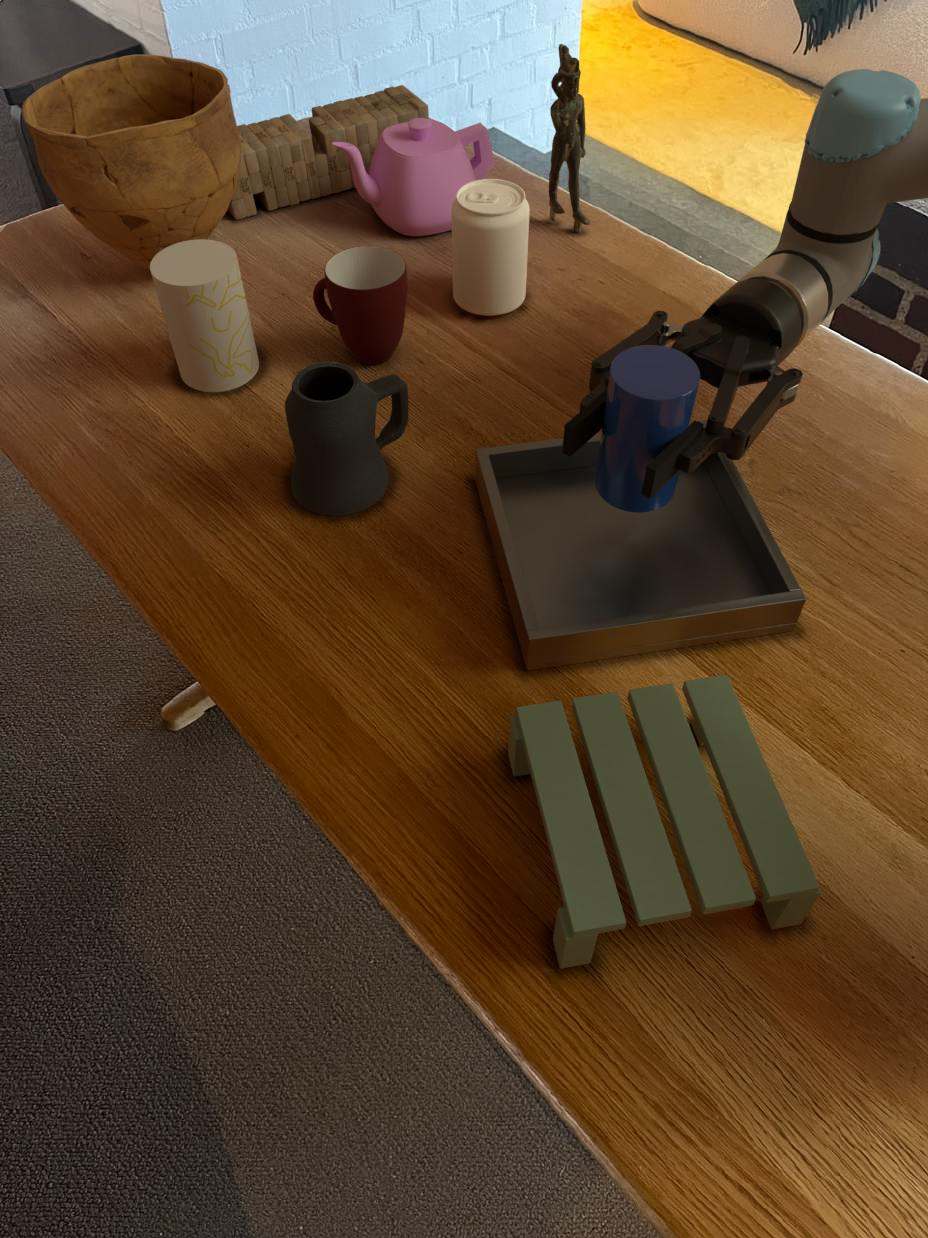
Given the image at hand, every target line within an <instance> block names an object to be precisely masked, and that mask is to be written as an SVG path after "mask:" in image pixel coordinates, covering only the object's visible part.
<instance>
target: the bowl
mask: <svg viewBox="0 0 928 1238" xmlns="http://www.w3.org/2000/svg"><path fill="white" fill-rule="evenodd" d="M231 93H232V92H231V87H230V85H229V79H228V77H227V76H226V74H225V73H224V71H222V70H221V69H219V68H217V67H214V66H211V65H209V64H207V63H204V62H201V61H195V60H191V59H188V58H179V57H170V56H165V55H160V54H159V55H157V54H129V55H123V56H120V57H113V58H109V59H106V60H102V61H98V62H94V63H90V64H86V65H83V66H81V67H79V68H75V69H73V70H71V71H69V72H67V73H66V74H64V75H62V76H61V77H60V78H58V79H55V80H53V81H50V82H49V83H47V84H45V85H43V86H42V87H41V86H40V88H38V89H37V90H35V91H34V92H33V93H32V94H30V95H29V96H28V97H27V98H26V99H25V100H24V101H23V103H22V105H21V115H22V118H23V121H24V123H25V125H26V127H27V129H28V130H29V132H30V134H31V139H32V141H33V143H34V146H35V147H34V148H35V152H36V158H37V163H38V166H39V169H40V171H41V173H42V175H43V178H44V179H45V181H46V183H47V184H48V187H49V188H50V189H51V192H53V194H54V195H55V196H56V197H57V199H58V200H59V201H60V202H61V203H62V204H63V206H64V207H65V208H66V209H67V211H68V212H69V213H70V214H71V215H72V216H73V217H74V218H75V220H76V221H77V222H78V223H79V224H80V225H81V226H82V227H84V228H85V229H86V230H87V231H88V232H90V233H91V234H92V235H93V236H94V237H96V238H97V239H98V240H100V241H101V242H104V243H105V244H106V245H108V246H110V247H111V248H113V249H115V250H116V251H117V252H119V253H120V254H122V255H124V256H125V257H126V258H128V259H129V260H130V261H132V262H133V263H135V264H137V265H139V266H140V267H142V268H145V269H147V270H150V263H151V261H152V259H153V258H154V256H155V255H156V254H157V253H159V252H160V251H161V250H163V249H165V248H166V247H168V246H171V245H173V244H176V243H179V242H183V241H188V240H197V239H206V240H210V237H211V235H212V234H213V232H214V231H215V230H216V228H217V227H218V226H219V223H220V222H221V221H222V220H223V217H224V216H225V215H226V213H227V212H226V211H227V209H228V206H229V204H230V201H231V198H232V196H233V193H234V190H235V187H236V184H237V180H238V176H239V171H240V163H241V139H240V135H239V132H238V128H237V126H238V125H237V122H236V117H235V113H234V109H233V102H232V97H231Z"/></svg>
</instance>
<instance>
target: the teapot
mask: <svg viewBox="0 0 928 1238" xmlns="http://www.w3.org/2000/svg"><path fill="white" fill-rule="evenodd" d="M332 144H333V145H334V146H336V147H338V148H339V149H341V150H342V151H343V152H344V153H345V154H346V155H347V157H348V159H349V161H350V165H351V170H352V176H353V180H354V184H355V189H356V191H357V193H358V194H359V196H360V197H361V198H362V200H364V201H365V202H366V203H368V204H370V205H371V207H372V208H373V209H374V210H373V211H374V212H375V214H376V215H377V216H378V218H380V219H381V221H382V222H383V223H384V224H385V225H386V226H387V227H389V228H390V229H391V230H393V231H394V232H396V233H398V234H402V235H403V236H408V237H423V236H431V235H435V234H436V235H437V234H441V233H444V232H449V231H452V205H453V202H454V200H455V199H456V194H457V191H458V190H459V189H460V188H461V187H462V186H463V185H465V184H467V183H469V182H472V181H476V180H481V179H484V177H485V176H486V175H487V174H488V173H489V172H490V171H491V169H492V168H493V167H494V166H495V165H496V163H495V156H494V153H493V148H492V145H491V139H490V135H489V130H488V128H487V127H486V126H485V125H484V124H482V123H481V122H478V123H475V124H472V125H469V126H467V127H463V128H461V129H457V130H455V131H454V130H453V128H451V127H450V126H448V125H447V124H445V123H443V122H442V121H439V120H436V119H430V118H429V119H425V118H415V119H412V120H410V121H409V122H405V123H400V124H396V125H393V126H390V127H387V128H386V129H385V130H384V131H383V132H382V134H381V136H380V138H379V140H378V143H377V146H376V148H375V151H374V154H373V157H372V161H371V166H370V172H369V175H368V174H367V173H366V171H365V168H364V164H363V160H362V157H361V154H360V152H359V150H358V149H357V148H356V147H355V146H354V145H352V144H350V143H346V142H333V143H332ZM469 145H473V153H474V156H473V157H472V158H471V159H470V158H469V156H468V153H467V151H466V150H465V147H467V146H469Z"/></svg>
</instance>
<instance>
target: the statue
mask: <svg viewBox="0 0 928 1238" xmlns="http://www.w3.org/2000/svg"><path fill="white" fill-rule="evenodd" d="M558 58H559V67H558V69H557V72H556V73H555V74H554V75H553V76H552V79H551V82H550V83H551V84H550V85H551V89H552V91H553V93H554V94H555V96H556V97H557V98H556V99H555V100H554V101H553V102H552V104H551V105H550V108H549V111H550V113H549V114H550V118H551V123H552V125H553V128H554V130H555V133H554V136H553V137H552V143H551V155H550V170H549V173H548V197H549V198H548V199H549V200H548V206H549V218H550V221H552V222H556V221H557V218H558V215H563V214H565V212H566V211H565V209H564V208H563V207H562V205H561V204H560V203H559V201H558V190H559V189H558V188H559V184H560V183H559V182H560V171H561V169H562V166H563V165H564V162H566V166H567V172H568V181H567V182H568V183H567V185H568V187H567V188H568V193H569V199H570V204H571V205H570V206H571V210H572V218H573V232H574V233H575V234H580V233H581V232H582V226H583V225H585V226H590V225H591V224H592V223H591V220H590V219H589V218H588V217H586V216H585V215H584V214H583V212H582V210H581V206H580V180H579V179H580V174H579V173H580V165H581V159H584V157H585V156H586V155H587V152H586V151H587V150H586V149H585V141H586V140H585V139H586V110H585V98H584V96H583V95H582V94H581V93H579V92H580V79H581V75H582V74H581V73H582V71H581V69H580V60H579V59H578V58H577V57H573V56H572V55H571V53H570V49H569V47H568V46H567V45H565V44H563V43H559V45H558ZM560 83H561V84H560Z"/></svg>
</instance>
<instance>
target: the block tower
mask: <svg viewBox="0 0 928 1238" xmlns="http://www.w3.org/2000/svg"><path fill="white" fill-rule="evenodd" d="M310 111H311V116H312V117H310V118H308V124H309V125H308V126H309V129H310V130H309V131H310V134H311V135H310V134H309V132H308V131H307V130H306V129H304V127H303V126H302V125H301V124H300V123H299V122H298V121H297V119H296V118H295V117H294V116H292V115H291V114H290V113H286V114H283V115H280V116H276V117H275V116H274V117H272V118H269V119H263V120H261V121H257V122H251V123H248V124H246V123H243V124H239V125H237V128H238V132H239V135H240V139H241V163H240V171H239V176H238V180H237V184H236V187H235V190H234V193H233V196H232V198H231V201H230V204H229V206H228V209H227V211H226V213H227V212H229V213H230V214H231V215H232V217H233V218H234V219H235V221H239V220H242V219H245V218H246V217H252V216H255V215H257V214H258V213H257V207H256V204H255V199H254V196H255V197H256V198H257V199H258V200H259V202H261V204H262V206H263V207H264V208H265V209H266V210H267V211H269V212H271V211H274V210H277V209H279V208H284V207H287V206H295V205H298V204H300V202H305V201H309V200H315V199H318V198H321V197H327V196H329V195H331V194H338V193H341V192H342V191H347V190H351V189H352V188H355V189H356V187H355V184H354V180H353V176H352V170H351V165H350V161H349V159H348V157H347V155H346V154H345V153H344V152H343V151H342V150H341V149H339V148H338V147H336V146H334V145H333V144H332V143H333V142H346V143H350V144H352V145H354V146H355V147H356V148H357V149H358V150H359V152H360V154H361V157H362V160H363V164H364V168H365V171H366V173H367V174H368V175H369V172H370V166H371V161H372V157H373V154H374V151H375V148H376V146H377V143H378V140H379V138H380V136H381V134H382V132H383V131H384V130H385V129H386V128H387V127H390V126H393V125H396V124H400V123H405V122H409V121H410V120H412V119H415V118H425V119H430V114H429V113H430V112H429V105H428V104H427V103H426V102H425V101H423V99H421V98H420V97H419V96H417V94H415V93H414V92H413V91H411V90H410V89H409V88H408V87H406V86H405V85H404V84H400V85H397V86H389V87H386V88H384V89H383V90H382V89H381V90H379V91H375V92H374V93H368V94H366V95H364V96H363V95H360V96H356V97H354V98H352V97H351V98H347V99H344V100H336V101H334V102H331V103H327V104H323V106H322V105H317V106H316V105H315V106H312V107H311V110H310Z"/></svg>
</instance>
